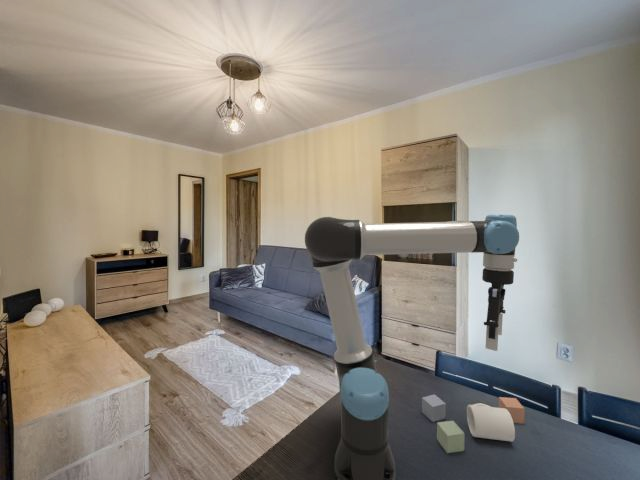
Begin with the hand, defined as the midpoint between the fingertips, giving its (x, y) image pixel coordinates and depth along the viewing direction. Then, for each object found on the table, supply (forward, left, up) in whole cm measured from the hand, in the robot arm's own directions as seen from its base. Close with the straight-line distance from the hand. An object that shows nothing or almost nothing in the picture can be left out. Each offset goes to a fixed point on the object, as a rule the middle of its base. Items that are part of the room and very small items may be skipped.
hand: (494, 341), depth 81 cm
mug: (-1, 0, -28) cm, 28 cm away
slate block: (-15, +7, -27) cm, 32 cm away
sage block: (-15, -5, -27) cm, 31 cm away
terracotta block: (+9, +6, -27) cm, 30 cm away
